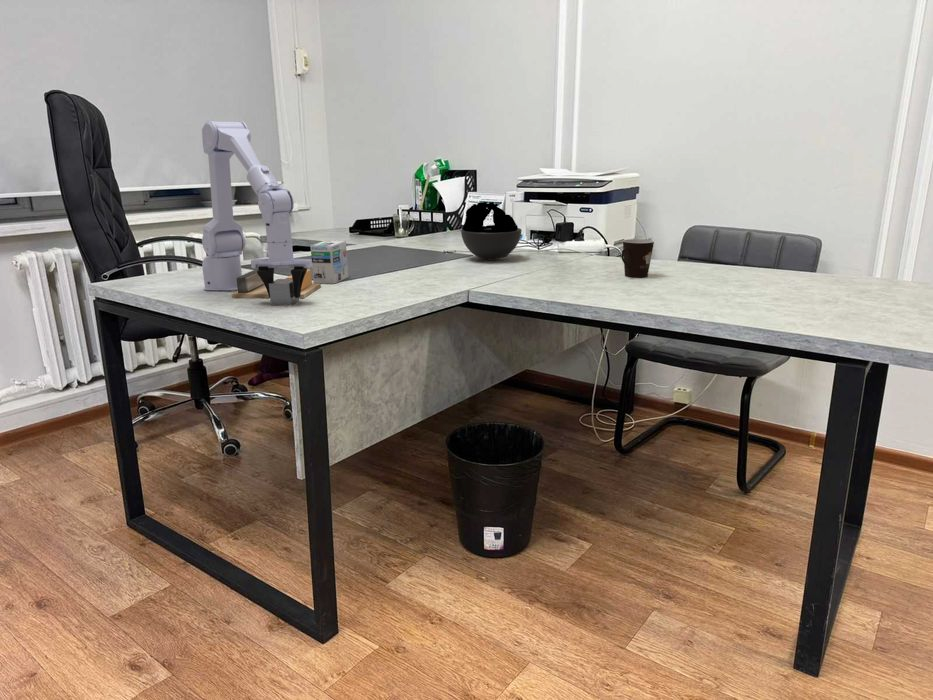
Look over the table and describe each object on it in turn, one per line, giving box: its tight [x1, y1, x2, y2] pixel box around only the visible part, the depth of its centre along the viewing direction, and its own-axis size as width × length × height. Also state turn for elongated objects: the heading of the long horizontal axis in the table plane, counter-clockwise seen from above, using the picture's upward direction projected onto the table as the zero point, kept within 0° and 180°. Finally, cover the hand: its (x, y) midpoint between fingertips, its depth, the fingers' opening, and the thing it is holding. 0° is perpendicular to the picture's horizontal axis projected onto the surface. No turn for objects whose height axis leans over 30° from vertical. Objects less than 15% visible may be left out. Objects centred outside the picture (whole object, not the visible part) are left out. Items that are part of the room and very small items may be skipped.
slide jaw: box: [284, 269, 313, 290], centre depth 172 cm, size 3×12×4 cm, turn 175°
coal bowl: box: [460, 201, 522, 261], centre depth 217 cm, size 20×20×19 cm
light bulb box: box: [310, 240, 349, 285], centre depth 187 cm, size 11×7×11 cm, turn 168°
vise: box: [230, 268, 322, 299], centre depth 173 cm, size 19×14×5 cm
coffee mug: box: [620, 238, 655, 279], centre depth 187 cm, size 12×9×10 cm
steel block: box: [269, 278, 300, 307], centre depth 161 cm, size 5×6×6 cm
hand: (284, 297), depth 161 cm, fingers open, 6 cm apart
